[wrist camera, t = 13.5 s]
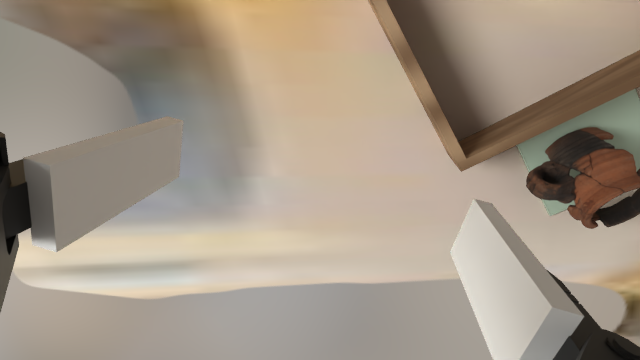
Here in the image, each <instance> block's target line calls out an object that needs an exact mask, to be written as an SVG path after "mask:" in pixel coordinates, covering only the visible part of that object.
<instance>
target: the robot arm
mask: <svg viewBox="0 0 640 360" xmlns="http://www.w3.org/2000/svg"><path fill="white" fill-rule="evenodd" d="M182 131H183V121H182V120H178V119H174V118H171V117H164V118H160V119H157V120H153V121H150V122H146V123H143V124H139V125H136V126H132V127H129V128H125V129H123V130H119V131H115V132H112V133H108V134H105V135H102V136H98V137H94V138H91V139H88V140H84V141H80V142H77V143H73V144H70V145H66V146H63V147H59V148H56V149H53V150H49V151H45V152H42V153H38V154H35V155H31V156H28V157H24V158H23V159H22V160H19V161H15V162H12V163H9V162H8V155H7V148H6V139H5V134H3V133H1V132H0V312H1V308H2V305H3V301H4V298H5V294H6V290H7V287H8V283H9V280H10V276H11V272H12V269H13V265H14V262H15V258H16V254H17V251H18V247H19V241H18V233H21V232H23V231H25V230H27V229H29V228H31V235H32V245H34V246H37V247H41V248H44V249H47V250H51V251H54V252H58V251H59V250H61V249H63V248H64V247H66V246H68V245H69V244H71V243H72V242H74V241H76V240H77V239H79V238H81V237H82V236H84V235H85V234H87V233H89V232H90V231H92V230H94V229H95V228H97V227H98V226H100V225H102V224H103V223H105V222H106V221H108V220H110V219H111V218H113V217H115V216H116V215H118V214H119V213H121V212H123V211H124V210H126V209H128V208H129V207H131V206H132V205H134V204H136V203H137V202H139V201H141V200H142V199H144V198H145V197H147V196H149V195H150V194H152V193H154V192H155V191H157V190H158V189H160V188H162V187H163V186H165V185H166V184H168V183H170V182H171V181H173V180H175V179H176V178H178V177H179V170H180V157H181V144H182ZM450 253H451V256H452V258H453V261H454V263H455V266H456V268H457V271H458V273H459V276H460V278H461V281H462V283H463V286H464V288H465V291H466V293H467V296H468V298H469V301H470V303H471V305H472V308H473V310H474V313H475V316H476V318H477V321H478V323H479V325H480V328H481V330H482V333H483V336H484V338H485V340H486V343H487V346H488V348H489V351H490V353H491V356H492V358H493V360H640V347H638V346H637V345H635V344H634V343H632V342H631V341H629V340H628V339H626V338H624V337H622V336H620V335H618V334H616V333H613V332H610V331H607V330H604V329H601V328H600V326H599V325H598V324H597V323H596V322H595V321H594V319H593V318H592V317H591V316H590V315H589V313H588V312H587V311H586V310H585V309H584V308H583V306H582V305H581V304H579V302H578V301H577V299H576V298H575V297H574V296H573V295H572V294H571V292H570V291H569V290H568V289H567V287H565V285H564V284H563V283H562V282H561V281H560V280H559V279H558V278H556V277H555V276H554V275H553V274H551V273H550V272H549V271H548V270H546V269H545V268H544V267H543V265H542V264H541V263H540V262H539V261H538V259H537V258H536V257H535V256H534V254H533V253H532V252H531V251H530V250H529V248H528V247H527V246H526V245H525V243H524V242H523V241H522V240H521V239H520V237H519V236H518V235H517V234H516V233H515V231H514V230H513V229H512V228H511V226H510V225H509V224H508V223H507V222H506V220H505V219H504V218H503V217H502V215H501V214H500V213H499V212H498V211H497V209H496V208H495V207H494V206H493V204H492V203H488V202H484V201H481V200H477V199H473V202H472V204H471V206H470V208H469V211H468V213H467V215H466V217H465V220H464V222H463V224H462V226H461V229H460V231H459V233H458V235H457V238H456V240H455V242H454V244H453V247H452V249H451V251H450Z"/></svg>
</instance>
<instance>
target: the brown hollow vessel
mask: <svg viewBox="0 0 640 360" xmlns="http://www.w3.org/2000/svg"><path fill="white" fill-rule="evenodd" d="M613 137H614V135H612V134H611V133H609V132H606V131H604V130H601V129H599V128H597V127H587V128H583V129H580V130H575V131H573V132H571V133H567V134H566V135H564V136H562V137H560V138H559V139H557V140H556V141H555V142H553V143H552V144H551V145H550V146H549V147H548V148H547V149H546V150H545V153H546V154H547V155H548V158H549V159H550V161H546V162H544V163H543V164H542V165H540V166H538V167H536V168H534V169H533V170H531V171H530V172H529V174H528V176H527V180H526V182H527V185H526V186H527V188H528V189H529V190H530V192H531V193H532V194H533V195H535V196H536V197H538V198H540V199H543V200H549V201H551V200H557V201H559V202H561V203H564V204H568V203H571V202H572V201H573V200H574V202H575V205H569V206H568V208H567V210H568V211H569V213H570V215H571V216H572V217H573V218H574V219H576V220H581V221H582V224H583V225H584V226H585V227H587V228H591V229H593V228H595V227H597V226H598V224H597V223H596V222H595V221H597V220H601V221H602V222H603V224H604V225H605V226H607V227H611V226H614V225H617V224H620V223H623V222H625V221H627V220H629V219H631V218H633V217H635V216H637V215H638V214H640V169H639V170H638V171H637V172H636V165H635V160H634V156H633V154H631V153H629V152H628V151H626V150H624V149H615V147H614V146H613V145H611V144H610V143H607V142H605V141H604V140H612V139H613ZM570 169H574V170H576V171H578V172H580V174H579V175H577V176H576V177H575V178H573V177H572V176H570ZM637 188H639V189H638V190H637V191H636V192H635V193H634V194H633V196H632V197H630V196H629V197H626V198H625V199H623V200H621V201H620V202H618V203H617V204H615V205H613V206H611V207H607V208H602V209H599V208H600V207H602V206H603V205H604V204H606V203H607V202H609V201H610V200H612V199H613V198H615V197H617V196H619V195H621V194H623V193H624V192H628V191H631V190H634V189H637Z"/></svg>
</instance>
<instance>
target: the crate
mask: <svg viewBox="0 0 640 360" xmlns="http://www.w3.org/2000/svg"><path fill="white" fill-rule="evenodd" d="M368 1H369V3H370V5H371V7H372V9H373V11H374V13H375V15H376V17H377V19H378V21H379V23H380V24H381V26H382V28H383V30H384V32H385V34H386V36H387V38H388V40H389V42H390V44H391V46H392V47H393V49H394V51H395V53H396V55H397V57H398V59H399V61H400V63H401V65H402V67H403V69H404V71H405V72H406V74H407V76H408V78H409V80H410V82H411V84H412V86H413V88H414V90H415V92H416V94H417V96H418V97H419V99H420V101H421V103H422V105H423V107H424V109H425V111H426V113H427V115H428V117H429V119H430V120H431V122H432V124H433V126H434V128H435V130H436V132H437V134H438V136H439V138H440V140H441V142H442V144H443V145H444V147H445V149H446V151H447V153H448V155H449V157H450V158H451V159H452V160H453V162H454V163H455V164H456V165H457V167H458V168H459V169H460V171H463V170H466V169H468V168H470V167H472V166H474V165H476V164H478V163H480V162H482V161H484V160H487V159H489V158H491V157H493V156H495V155H497V154H499V153H501V152H503V151H505V150H508V149H510V148H512V147H514V146H516V145H518V144H520V143H522V142H524V141H526V140H528V139H531V138H533V137H535V136H537V135H539V134H541V133H543V132H545V131H547V130H549V129H552V128H554V127H556V126H558V125H560V124H562V123H564V122H566V121H568V120H570V119H573V118H575V117H577V116H579V115H581V114H583V113H585V112H587V111H589V110H591V109H593V108H596V107H598V106H600V105H602V104H604V103H606V102H608V101H610V100H612V99H614V98H617V97H619V96H621V95H623V94H625V93H627V92H629V91H631V90H633V89H635V88H638V87H640V50H639V51H637V52H635V53H633V54H631V55H629V56H627V57H625V58H623V59H621V60H619V61H617V62H615V63H613V64H611V65H610V66H608V67H606V68H604V69H602V70H600V71H598V72H596V73H594V74H592V75H590V76H588V77H586V78H584V79H582V80H580V81H578V82H576V83H574V84H572V85H570V86H568V87H566V88H564V89H562V90H560V91H558V92H556V93H554V94H552V95H550V96H548V97H546V98H544V99H542V100H540V101H538V102H536V103H534V104H532V105H530V106H528V107H526V108H524V109H522V110H521V111H519V112H517V113H515V114H513V115H511V116H509V117H507V118H505V119H503V120H501V121H499V122H497V123H495V124H493V125H491V126H489V127H487V128H485V129H483V130H481V131H479V132H477V133H475V134H473V135H471V136H469V137H467V138H465V139H463V140H461V141H459V142H458V141H457V139H456V137H455V135H454V133H453V131H452V129H451V127H450V125H449V123H448V121H447V119H446V117H445V115H444V113H443V111H442V110H441V108H440V106H439V104H438V102H437V100H436V98H435V96H434V94H433V92H432V90H431V88H430V86H429V84H428V82H427V80H426V78H425V76H424V74H423V72H422V70H421V68H420V66H419V64H418V62H417V60H416V58H415V56H414V54H413V52H412V50H411V48H410V47H409V45H408V43H407V41H406V39H405V37H404V35H403V33H402V31H401V29H400V27H399V25H398V23H397V21H396V19H395V17H394V15H393V13H392V11H391V9H390V7H389V5H388V3H387V1H386V0H368Z"/></svg>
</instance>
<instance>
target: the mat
mask: <svg viewBox="0 0 640 360" xmlns="http://www.w3.org/2000/svg"><path fill="white" fill-rule="evenodd" d="M587 127H597V128H599V129H601V130H604V131H606V132H609V133H611V134H612V135H614V137H613V139H612V140H604V141H605V142H607V143H610V144H611V145H613V146H614V147H615V149H624V150H626V151H628V152H629V153H631V154H633V156H634V160H635V165H636V172H637V171H638V170H639V169H640V100H639V97H638V94H637V91H636V88H635V89H633V90H631V91H629V92H627V93H625V94H623V95H621V96H619V97H617V98H614V99H612V100H610V101H608V102H606V103H604V104H602V105H600V106H598V107H596V108H593V109H591V110H589V111H587V112H585V113H583V114H581V115H579V116H577V117H575V118H573V119H570V120H568V121H566V122H564V123H562V124H560V125H558V126H556V127H554V128H552V129H549V130H547V131H545V132H543V133H541V134H539V135H537V136H535V137H533V138H531V139H528V140H526V141H524V142H522V143H520V144H518V145H517V147H518V150H519V152H520V154H521V156H522V158H523V160H524V162H525V165H526V167H527V169H528V171H529V172H530V171H531V170H533V169H534V168H536V167H538V166H540V165H542V164H543V163H544V162H546V161H550V159H549V158H548V155H547V154H546V153H545V150H546V149H547V148H548V147H549V146H550V145H551V144H552V143H553V142H555V141H556V140H557V139H559V138H560V137H562V136H564V135H566V134H567V133H571V132H573V131H575V130H580V129H583V128H587ZM579 174H580V172H578V171H576V170H574V169H570V176H572V177H573V178H575V177H576V176H577V175H579ZM542 201H543V203H544V206H545V208H546V210H547V212H548V214H549V215H550V216H552V215H554V214H557V213H559V212H562V211H564V210H566V209H567V208H568V206H569V205H575V202H574V200H573V201H572V202H571V203H568V204H564V203H561V202H559V201H557V200H551V201H549V200H543V199H542Z"/></svg>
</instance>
